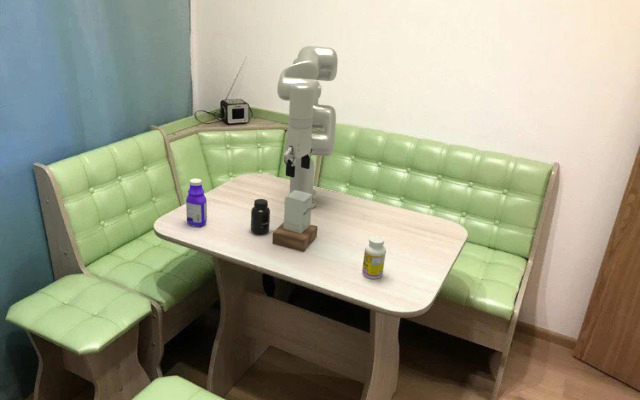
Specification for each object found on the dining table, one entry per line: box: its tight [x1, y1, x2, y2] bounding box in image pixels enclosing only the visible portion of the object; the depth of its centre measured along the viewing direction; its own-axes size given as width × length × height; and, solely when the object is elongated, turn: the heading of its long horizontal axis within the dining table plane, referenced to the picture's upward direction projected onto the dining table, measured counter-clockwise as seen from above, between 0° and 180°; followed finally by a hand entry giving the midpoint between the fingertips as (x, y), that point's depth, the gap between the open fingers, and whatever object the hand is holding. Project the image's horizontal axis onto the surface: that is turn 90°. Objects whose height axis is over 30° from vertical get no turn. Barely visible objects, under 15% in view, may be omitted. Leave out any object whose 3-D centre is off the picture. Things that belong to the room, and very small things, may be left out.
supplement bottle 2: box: [361, 235, 387, 280], centre depth 156 cm, size 7×7×13 cm
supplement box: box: [283, 190, 313, 234], centre depth 172 cm, size 7×7×13 cm
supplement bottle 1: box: [250, 198, 271, 236], centre depth 178 cm, size 7×7×12 cm
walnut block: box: [271, 221, 318, 253], centre depth 175 cm, size 12×12×5 cm
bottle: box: [185, 178, 208, 227], centre depth 179 cm, size 7×6×17 cm
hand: (297, 172), depth 165 cm, fingers open, 9 cm apart
